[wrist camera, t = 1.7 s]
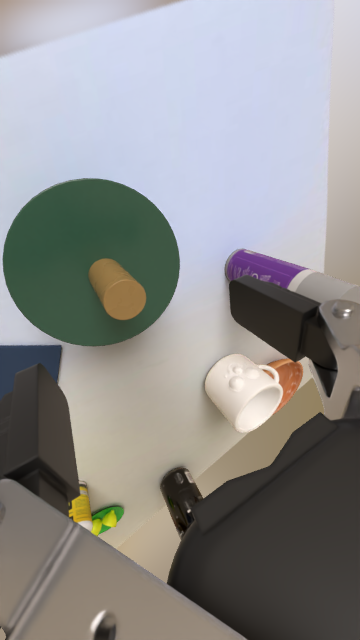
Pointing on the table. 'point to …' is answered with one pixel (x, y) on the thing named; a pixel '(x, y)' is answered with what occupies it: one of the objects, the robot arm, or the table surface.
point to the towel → (26, 362)
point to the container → (290, 277)
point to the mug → (243, 391)
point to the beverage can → (180, 498)
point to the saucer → (286, 378)
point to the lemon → (106, 519)
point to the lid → (91, 262)
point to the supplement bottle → (81, 508)
